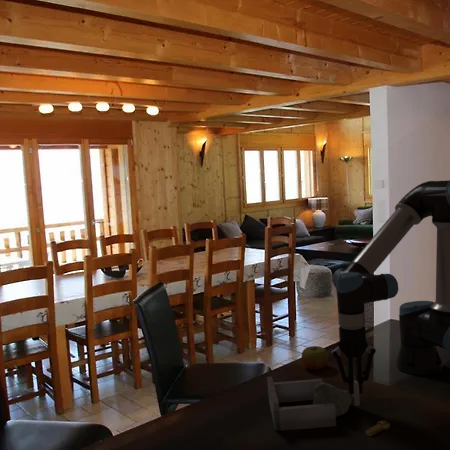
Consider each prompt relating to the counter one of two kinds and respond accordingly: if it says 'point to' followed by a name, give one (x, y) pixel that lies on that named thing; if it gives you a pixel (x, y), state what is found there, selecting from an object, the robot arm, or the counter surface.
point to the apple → (315, 357)
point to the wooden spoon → (378, 428)
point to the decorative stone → (333, 397)
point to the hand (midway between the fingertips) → (356, 403)
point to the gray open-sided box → (298, 414)
